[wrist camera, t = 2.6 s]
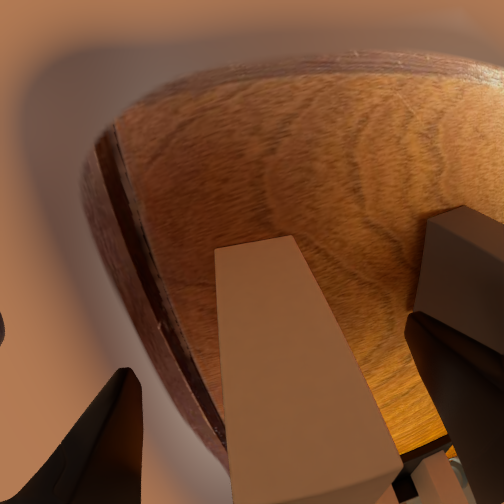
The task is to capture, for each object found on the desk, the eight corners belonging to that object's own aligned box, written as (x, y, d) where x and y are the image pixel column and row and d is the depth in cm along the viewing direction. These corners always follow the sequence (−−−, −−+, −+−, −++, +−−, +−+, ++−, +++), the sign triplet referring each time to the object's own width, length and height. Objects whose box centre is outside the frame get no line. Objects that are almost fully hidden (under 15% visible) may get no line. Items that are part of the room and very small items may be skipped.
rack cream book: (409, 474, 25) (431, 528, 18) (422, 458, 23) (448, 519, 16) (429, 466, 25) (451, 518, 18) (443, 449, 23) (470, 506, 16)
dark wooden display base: (290, 506, 26) (296, 535, 23) (287, 488, 23) (295, 524, 19) (431, 460, 27) (442, 484, 24) (454, 430, 23) (469, 459, 20)
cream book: (238, 353, 13) (267, 543, 6) (214, 247, 10) (232, 509, 3) (300, 341, 13) (359, 522, 6) (292, 233, 10) (406, 466, 3)
